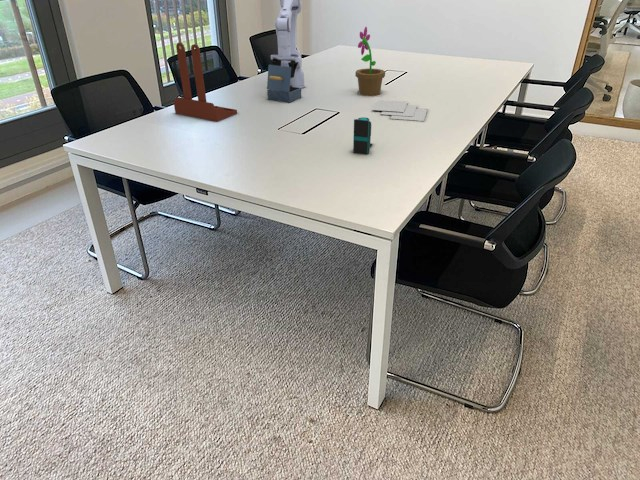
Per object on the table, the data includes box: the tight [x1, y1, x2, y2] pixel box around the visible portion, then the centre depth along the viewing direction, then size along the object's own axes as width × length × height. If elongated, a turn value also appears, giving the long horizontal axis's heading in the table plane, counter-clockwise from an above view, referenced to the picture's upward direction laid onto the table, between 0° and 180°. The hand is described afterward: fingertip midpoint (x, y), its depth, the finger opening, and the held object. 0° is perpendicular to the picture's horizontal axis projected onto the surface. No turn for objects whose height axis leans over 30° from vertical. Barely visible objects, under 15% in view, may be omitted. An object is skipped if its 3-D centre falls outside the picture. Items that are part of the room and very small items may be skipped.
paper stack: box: [371, 99, 428, 122], centre depth 217 cm, size 23×25×1 cm
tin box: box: [266, 87, 302, 104], centre depth 236 cm, size 10×12×4 cm
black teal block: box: [352, 116, 373, 155], centre depth 175 cm, size 6×12×10 cm
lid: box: [266, 64, 291, 92], centre depth 228 cm, size 11×12×4 cm
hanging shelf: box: [173, 42, 238, 123], centre depth 210 cm, size 24×13×30 cm, turn 59°
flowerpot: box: [355, 26, 386, 97], centre depth 236 cm, size 14×14×30 cm
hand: (285, 76), depth 233 cm, fingers open, 7 cm apart
